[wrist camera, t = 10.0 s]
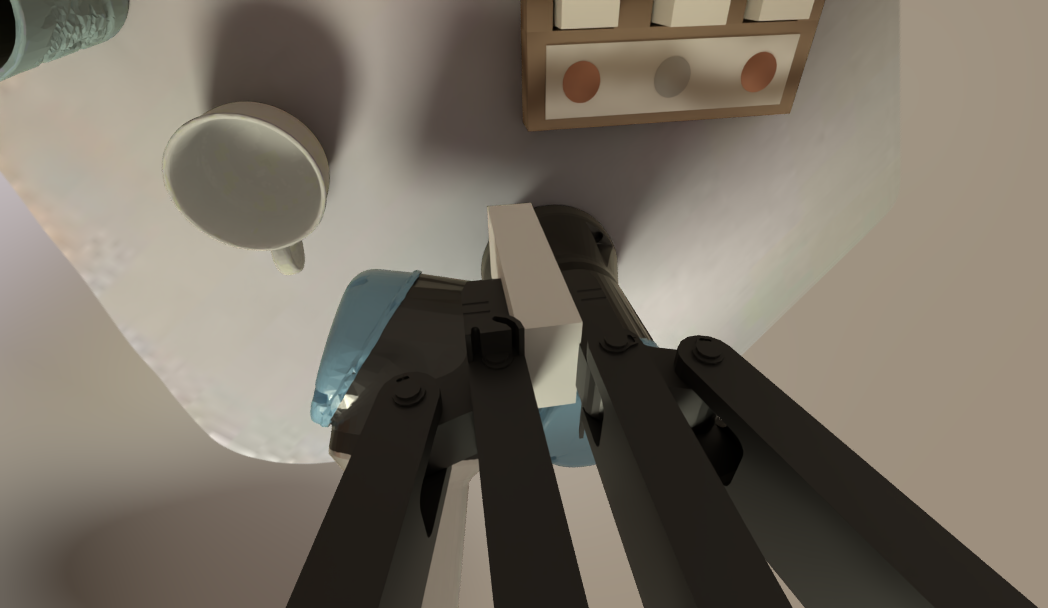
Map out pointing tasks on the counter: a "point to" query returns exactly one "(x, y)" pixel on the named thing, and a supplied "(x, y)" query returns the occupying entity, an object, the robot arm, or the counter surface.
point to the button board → (658, 68)
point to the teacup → (249, 179)
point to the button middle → (690, 12)
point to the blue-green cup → (53, 29)
